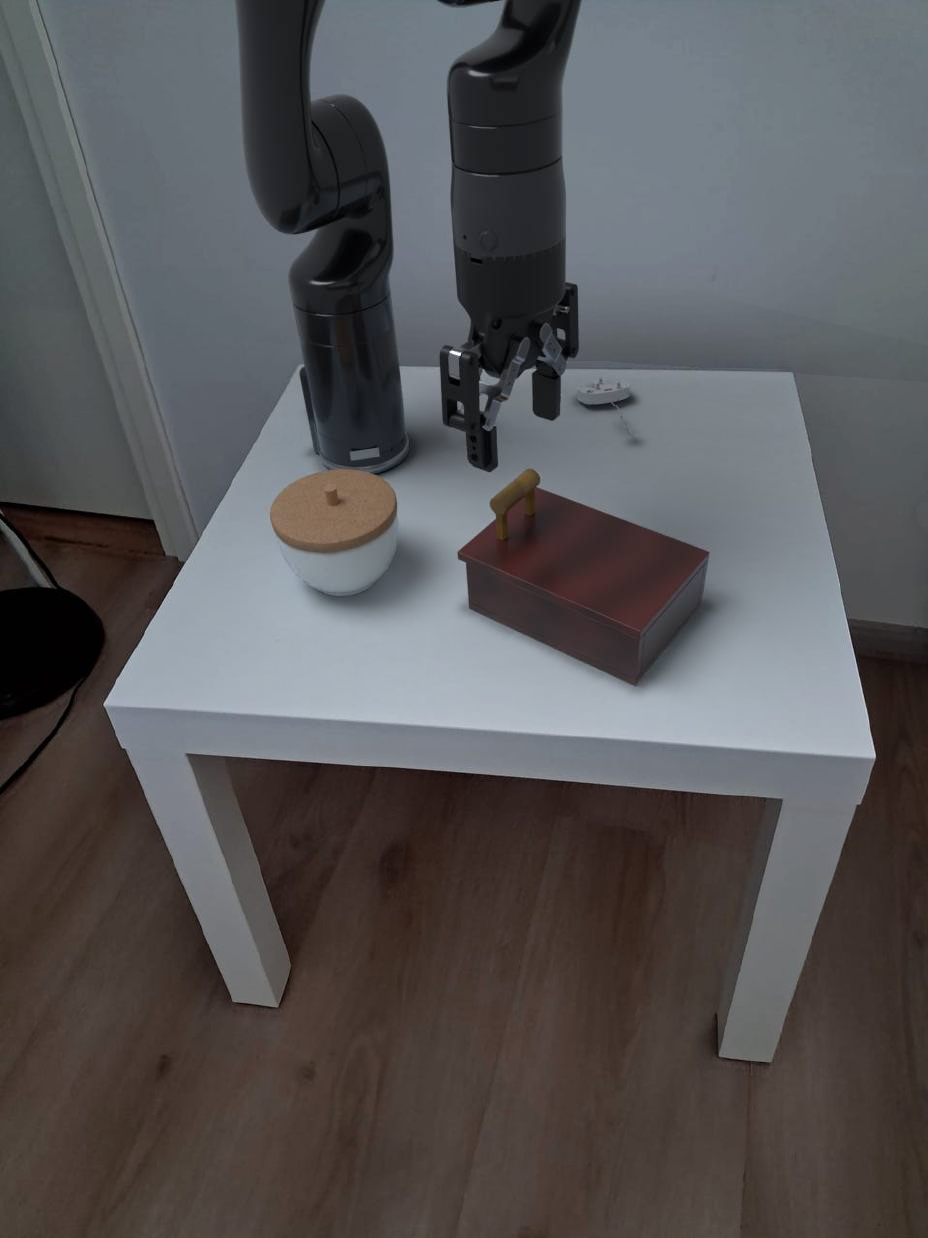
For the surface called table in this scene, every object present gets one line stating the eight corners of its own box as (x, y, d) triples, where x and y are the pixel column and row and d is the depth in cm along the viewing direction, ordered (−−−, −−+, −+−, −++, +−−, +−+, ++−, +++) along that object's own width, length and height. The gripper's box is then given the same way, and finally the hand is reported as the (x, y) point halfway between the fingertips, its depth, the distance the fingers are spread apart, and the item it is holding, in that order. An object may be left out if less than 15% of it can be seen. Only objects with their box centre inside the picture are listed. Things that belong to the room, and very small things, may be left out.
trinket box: (388, 620, 79) (374, 531, 73) (269, 608, 81) (246, 521, 75) (418, 542, 87) (408, 456, 81) (308, 533, 89) (290, 448, 83)
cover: (457, 559, 77) (453, 509, 73) (533, 492, 83) (533, 444, 80) (639, 639, 69) (644, 588, 65) (708, 559, 75) (716, 508, 72)
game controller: (609, 382, 106) (610, 361, 105) (676, 426, 99) (679, 404, 97) (568, 397, 104) (569, 376, 103) (633, 443, 97) (635, 421, 95)
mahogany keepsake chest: (468, 608, 80) (465, 563, 76) (541, 541, 86) (541, 496, 83) (635, 686, 72) (639, 639, 69) (701, 606, 78) (708, 559, 75)
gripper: (523, 188, 68) (527, 390, 79) (397, 257, 60) (421, 471, 71) (613, 204, 64) (605, 413, 75) (492, 279, 56) (502, 501, 67)
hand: (516, 441), depth 73 cm, fingers open, 8 cm apart
